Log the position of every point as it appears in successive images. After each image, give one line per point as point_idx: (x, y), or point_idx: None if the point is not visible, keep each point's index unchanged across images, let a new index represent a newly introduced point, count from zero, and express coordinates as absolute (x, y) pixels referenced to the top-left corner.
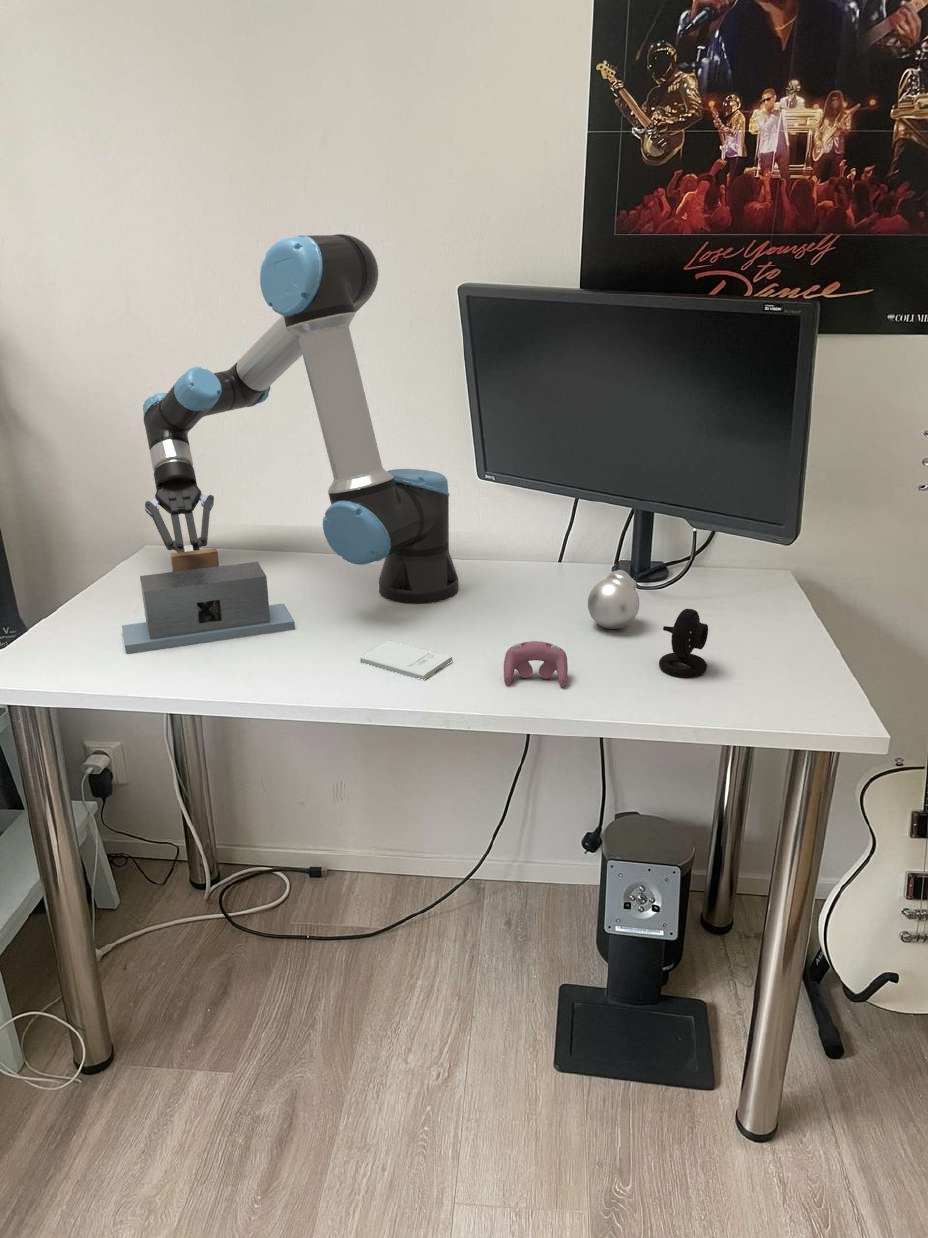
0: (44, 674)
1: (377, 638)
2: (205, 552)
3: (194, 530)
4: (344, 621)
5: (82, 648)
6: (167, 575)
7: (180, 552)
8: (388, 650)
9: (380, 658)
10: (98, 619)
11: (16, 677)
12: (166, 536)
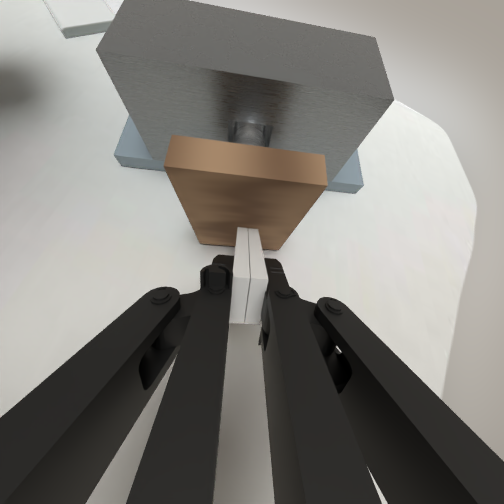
0: (421, 135)
1: (66, 54)
2: (213, 142)
3: (191, 344)
4: (66, 102)
5: (397, 174)
6: (333, 75)
7: (294, 180)
8: (82, 15)
9: (103, 9)
10: (395, 258)
11: (446, 141)
12: (359, 333)
